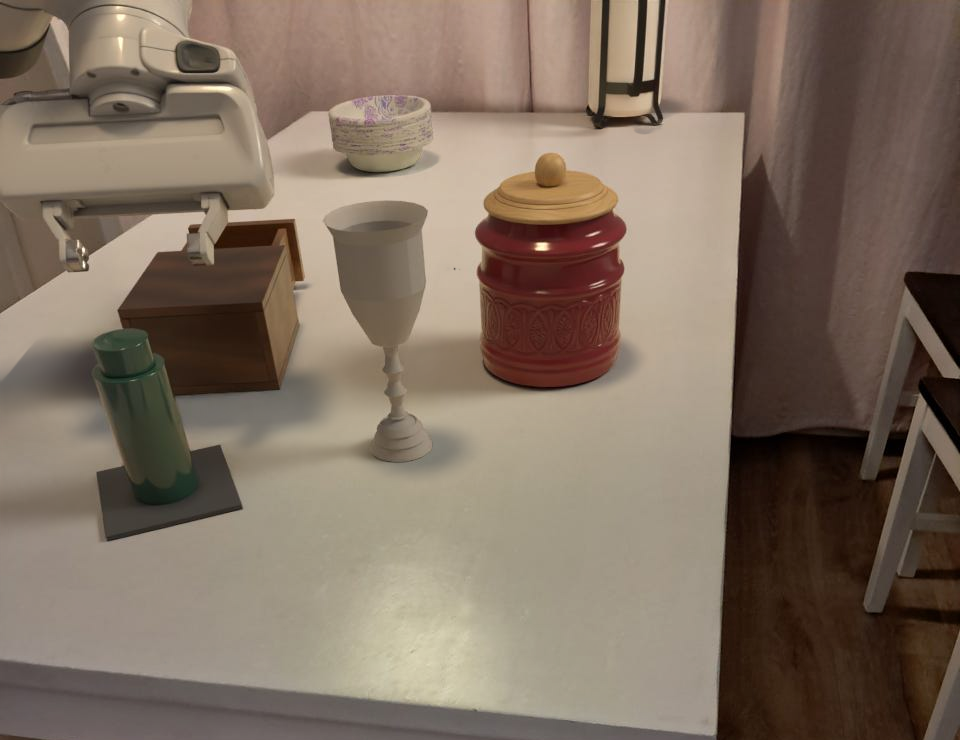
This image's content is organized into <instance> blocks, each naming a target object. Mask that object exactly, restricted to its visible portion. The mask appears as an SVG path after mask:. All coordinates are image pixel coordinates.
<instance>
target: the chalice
mask: <svg viewBox="0 0 960 740" xmlns="http://www.w3.org/2000/svg"><path fill="white" fill-rule="evenodd" d="M428 212H429V210H428V209H427V208H426V207H425V206H423V205H422V204H418V203H416V202H412V201H405V200H371V201H365V202H364V201H363V202H358V203H352V204H349V205H344V206H341V207H339V208H336V209H334V210H331V211H329V212H328V213H326V214H325V215H324V217H323V219H322V222H323V224H324V225H325V227H326V228H327V230H328V231H329V233H330V235H331V236H332V239H333V247H334V254H335V260H336V268H337V273H338V274H337V276H338V282H339V288H340V292H341V294H342V296H343V298H344V300H345V301H346V304H347V306H348V308H349V310H350V312H351V315H353V317H354V319H355V320H356V322H357V323H358V325H359V326H360V328H361V329H362V331H363V332H364V333H365V335H366V337H367V338H368V340H369V341H370V343H371V344H372V345H374V346H376V347H382V350H383V352H384V356H385V358H384V366H383V367H382V369H381V370H382V373H384V374H385V376H386V379H387V381H388V382H387V387H386V389H384V391H383V395H385V396H386V397H388V400H389V403H390V412H389V413H388V414H387V415H385V416H384V417H382V419H381V420H380V422H379V423H378V424H377V426H376V431H375V433H374V436H373V442H372V443H371V445H370V446H371V447H370V451H371V453H372V455H373V456H374V457H376V458H377V459H378V460H382V461H385V462H391V463H404V462H410V461H414V460H418V459H419V458H423V457H424V456H425V455H427V454H428V453H430V451H431V450H432V448H433V441H432V439H431V437H430V436H429V435H428V432H427V430H426V428H425V427H424V426H423V423H422V421H421V420H420V419H419V418H417V416H416V415H414V414H412V413H409V412H408V411H406V409H405V406H404V396H405V395H406V393H408V389H407V388H406V387H404V386H403V384H402V381H401V377H402V373H403V371H404V368H405V367H404V366H403V365H402V364H401V361H400V358H399V355H398V349H399V346H400V345H403V344H405V343H406V342H407V341H408V340H409V338H410V336H411V333H412V330H413V328H414V327H415V323H416V320H417V318H418V315H419V313H420V310H421V306H422V301H423V297H424V293H425V289H426V283H427V276H426V264H425V253H424V242H423V241H424V240H423V239H424V238H423V228H424V225H425V223H426V220H427V218H428Z"/></svg>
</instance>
